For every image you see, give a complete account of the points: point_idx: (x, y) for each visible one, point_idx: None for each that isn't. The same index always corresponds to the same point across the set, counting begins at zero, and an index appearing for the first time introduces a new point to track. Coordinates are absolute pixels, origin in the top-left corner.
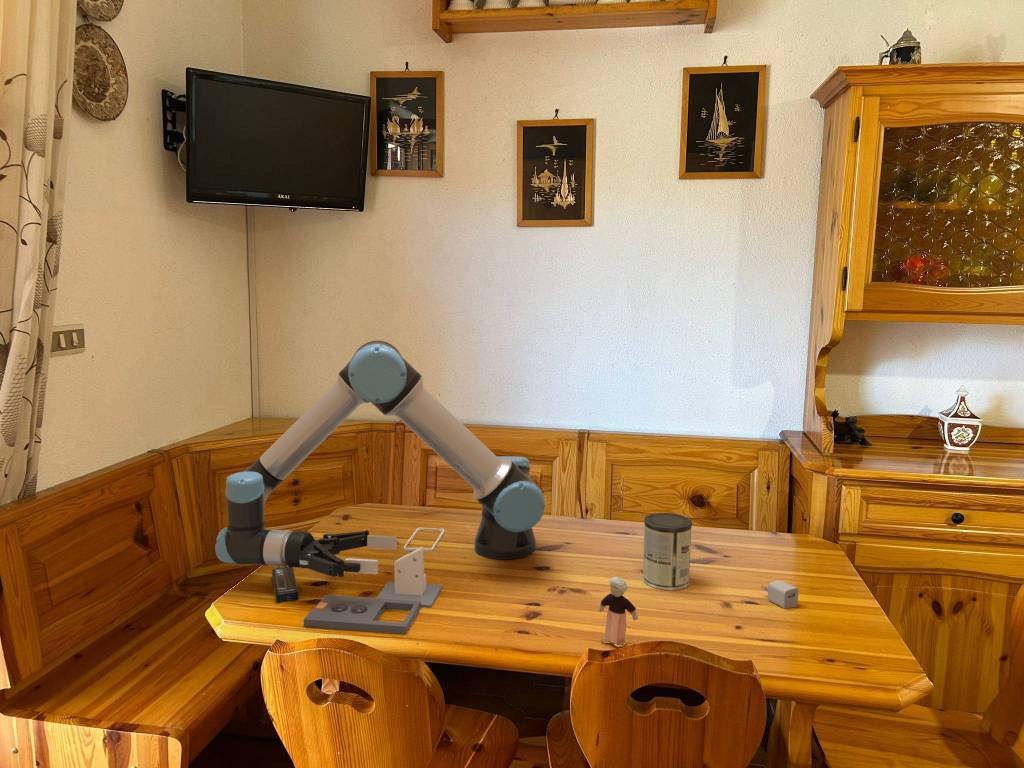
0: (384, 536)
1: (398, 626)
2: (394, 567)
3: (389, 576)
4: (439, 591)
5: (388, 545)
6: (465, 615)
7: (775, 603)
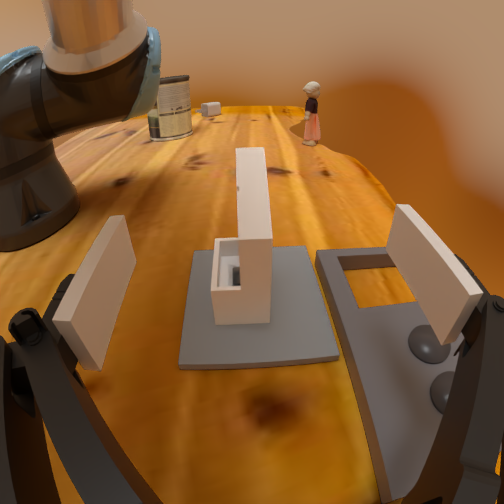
0: (95, 250)
1: None
2: (271, 254)
3: (118, 380)
4: None
5: (122, 270)
6: (310, 212)
7: (214, 115)
